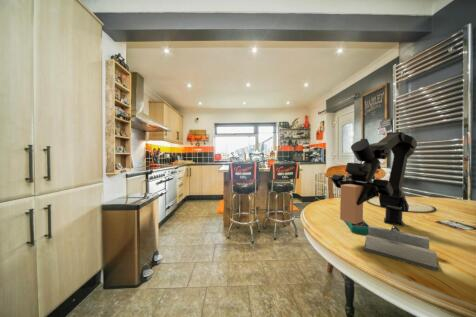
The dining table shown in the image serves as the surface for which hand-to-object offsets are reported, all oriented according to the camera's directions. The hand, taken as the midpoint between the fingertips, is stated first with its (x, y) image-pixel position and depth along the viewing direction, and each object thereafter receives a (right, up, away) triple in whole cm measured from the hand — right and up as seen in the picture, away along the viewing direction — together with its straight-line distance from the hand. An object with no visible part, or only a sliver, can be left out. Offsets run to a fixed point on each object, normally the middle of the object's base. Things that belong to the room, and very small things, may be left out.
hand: (349, 202), depth 63 cm
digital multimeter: (+11, -14, +13) cm, 22 cm away
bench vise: (+13, -14, -4) cm, 19 cm away
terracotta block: (+1, -7, +1) cm, 7 cm away
